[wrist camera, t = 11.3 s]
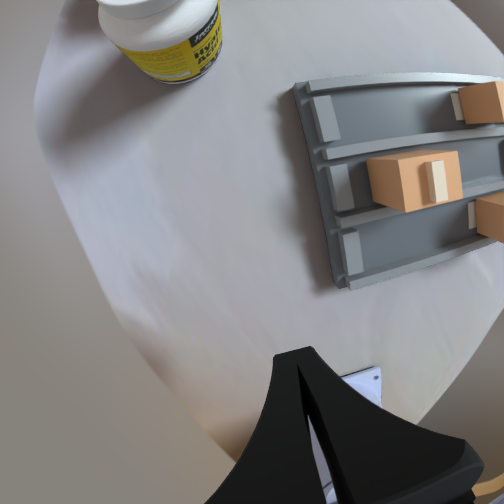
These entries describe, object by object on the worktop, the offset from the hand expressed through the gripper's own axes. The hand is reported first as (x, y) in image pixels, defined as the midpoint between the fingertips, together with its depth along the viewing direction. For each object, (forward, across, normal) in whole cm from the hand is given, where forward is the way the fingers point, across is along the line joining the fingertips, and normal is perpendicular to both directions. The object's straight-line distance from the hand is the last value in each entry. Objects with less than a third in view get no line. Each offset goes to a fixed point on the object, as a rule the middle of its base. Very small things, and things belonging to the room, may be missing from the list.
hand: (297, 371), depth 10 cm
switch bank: (+10, -13, -4) cm, 17 cm away
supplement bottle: (+11, +2, -15) cm, 19 cm away
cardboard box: (+9, -18, 0) cm, 20 cm away
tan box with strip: (+9, -9, -4) cm, 13 cm away
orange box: (+9, -18, -8) cm, 22 cm away
